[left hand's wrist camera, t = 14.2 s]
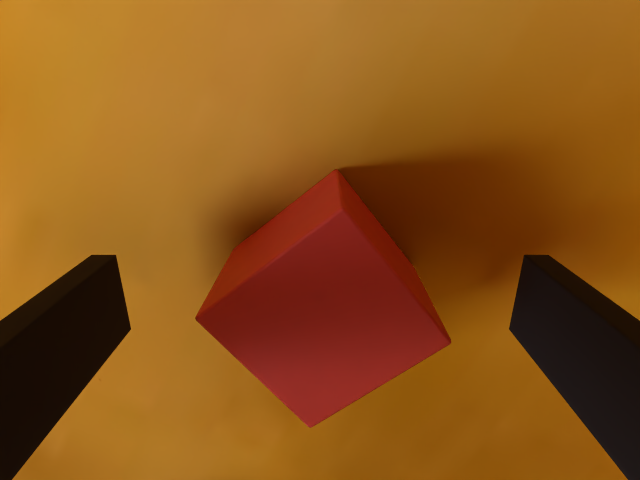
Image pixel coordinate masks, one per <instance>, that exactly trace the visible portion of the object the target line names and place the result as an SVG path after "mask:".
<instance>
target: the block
mask: <svg viewBox="0 0 640 480" xmlns="http://www.w3.org/2000/svg"><path fill="white" fill-rule="evenodd" d="M195 319H196V321H197V322H199V323H200V324H201V325H202V326H203V327H204V328H205V329H206V330H207V331H208V332H209V333H210V334H211V335H212V336H213V337H214V338H215V339H216V340H217V341H219V342H220V343H221V344H222V345H223V346H224V347H225V348H226V349H227V350H228V351H229V352H230V353H231V354H232V355H233V356H234V357H235V358H236V359H238V360H239V361H240V362H241V363H242V364H243V365H244V366H245V367H246V368H247V369H248V370H249V371H250V372H251V373H252V374H253V375H254V376H255V377H257V378H258V379H259V380H260V381H261V382H262V383H263V384H264V385H265V386H266V387H267V388H268V389H269V390H270V391H271V392H272V393H273V394H274V395H275V396H277V397H278V398H279V399H280V400H281V401H282V402H283V403H284V404H285V405H286V406H287V407H288V408H289V409H290V410H291V411H292V412H293V413H294V414H296V415H297V416H298V417H299V418H300V419H301V420H302V421H303V422H304V423H305V424H306V425H307V426H308V427H313V426H315V425H316V424H318V423H320V422H321V421H323V420H325V419H326V418H328V417H330V416H331V415H333V414H335V413H336V412H338V411H340V410H341V409H343V408H345V407H346V406H348V405H350V404H351V403H353V402H355V401H356V400H358V399H360V398H361V397H363V396H365V395H366V394H368V393H370V392H371V391H373V390H374V389H376V388H378V387H379V386H381V385H383V384H384V383H386V382H388V381H389V380H391V379H393V378H394V377H396V376H398V375H399V374H401V373H403V372H404V371H406V370H408V369H409V368H411V367H413V366H414V365H416V364H418V363H419V362H421V361H423V360H424V359H426V358H428V357H429V356H431V355H433V354H434V353H436V352H438V351H439V350H441V349H443V348H444V347H446V346H448V345H449V344H450V343H451V339H450V337H449V335H448V333H447V331H446V329H445V327H444V325H443V323H442V321H441V320H440V318H439V316H438V314H437V312H436V310H435V308H434V306H433V304H432V302H431V300H430V298H429V296H428V294H427V292H426V290H425V288H424V286H423V284H422V282H421V280H420V278H419V276H418V275H417V273H416V271H415V269H414V267H413V265H412V264H411V263H410V262H409V260H408V259H407V258H406V257H405V255H404V254H403V253H402V251H401V250H400V249H399V248H398V246H397V245H396V244H395V242H394V241H393V240H392V239H391V237H390V236H389V235H388V233H387V232H386V231H385V230H384V228H383V227H382V226H381V224H380V223H379V222H378V221H377V219H376V218H375V217H374V215H373V214H372V213H371V212H370V210H369V209H368V208H367V206H366V205H365V204H364V203H363V201H362V200H361V199H360V197H359V196H358V195H357V194H356V192H355V191H354V190H353V188H352V187H351V186H350V185H349V183H348V182H347V181H346V179H345V178H344V177H343V176H342V174H341V173H340V172H339V171H338V170H337V169H336V170H334V171H333V172H331V173H330V174H329V175H327V176H326V177H325V178H324V179H322V180H321V181H320V182H318V183H317V184H316V185H315V186H313V187H312V188H311V189H310V190H308V191H307V192H306V193H304V194H303V195H302V196H301V197H299V198H298V199H297V200H295V201H294V202H293V203H292V204H290V205H289V206H288V207H287V208H285V209H284V210H283V211H281V212H280V213H279V214H278V215H276V216H275V217H274V218H272V219H271V220H270V221H269V222H267V223H266V224H265V225H264V226H262V227H261V228H260V229H258V230H257V231H256V232H255V233H253V234H252V235H251V236H249V237H248V238H247V239H246V240H244V241H243V242H242V243H241V244H239V245H238V246H237V247H235V248H234V249H233V251H232V253H231V254H230V256H229V258H228V260H227V262H226V263H225V265H224V267H223V269H222V271H221V272H220V274H219V276H218V278H217V280H216V281H215V283H214V285H213V287H212V289H211V290H210V292H209V294H208V296H207V297H206V299H205V301H204V303H203V305H202V306H201V308H200V310H199V312H198V314H197V315H196V317H195Z"/></svg>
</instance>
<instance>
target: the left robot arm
mask: <svg viewBox="0 0 640 480" xmlns="http://www.w3.org/2000/svg"><path fill="white" fill-rule="evenodd" d="M130 330H131V327H130V322H129V317H128V312H127V307H126V302H125V297H124V293H123V288H122V283H121V278H120V273H119V268H118V263H117V258H116V255H91V256H90V257H88V258H87V259H85V260H84V261H83V262H81V263H80V264H78V265H77V266H76V267H74V268H73V269H72V270H70V271H69V272H67V273H66V274H65V275H63V276H62V277H60V278H59V279H58V280H56V281H55V282H54V283H52V284H51V285H49V286H48V287H47V288H45V289H44V290H42V291H41V292H40V293H38V294H37V295H36V296H34V297H33V298H31V299H30V300H29V301H27V302H26V303H24V304H23V305H22V306H20V307H19V308H17V309H16V310H15V311H13V312H12V313H11V314H9V315H8V316H6V317H5V318H4V319H2V320H1V321H0V480H12V479H13V478H14V476H15V475H16V474H17V473H18V471H19V470H20V469H21V467H22V466H23V465H24V464H25V462H26V461H27V460H28V459H29V457H30V456H31V455H32V454H33V452H34V451H35V450H36V449H37V447H38V446H39V445H40V443H41V442H42V441H43V440H44V438H45V437H46V436H47V435H48V433H49V432H50V431H51V430H52V428H53V427H54V426H55V425H56V423H57V422H58V421H59V419H60V418H61V417H62V416H63V414H64V413H65V412H66V411H67V409H68V408H69V407H70V406H71V404H72V403H73V402H74V401H75V399H76V398H77V397H78V395H79V394H80V393H81V392H82V390H83V389H84V388H85V387H86V385H87V384H88V383H89V382H90V380H91V379H92V378H93V376H94V375H95V374H96V373H97V371H98V370H99V369H100V368H101V366H102V365H103V364H104V363H105V361H106V360H107V359H108V358H109V356H110V355H111V354H112V352H113V351H114V350H115V349H116V347H117V346H118V345H119V344H120V342H121V341H122V340H123V339H124V337H125V336H126V335H127V334H128V332H129V331H130ZM509 330H510V331H511V332H512V333H513V335H514V336H515V337H516V339H517V340H518V341H519V342H520V344H521V345H522V346H523V347H524V349H525V350H526V351H527V352H528V354H529V355H530V356H531V358H532V359H533V360H534V361H535V363H536V364H537V365H538V366H539V368H540V369H541V370H542V371H543V373H544V374H545V375H546V376H547V378H548V379H549V380H550V382H551V383H552V384H553V385H554V387H555V388H556V389H557V390H558V392H559V393H560V394H561V395H562V397H563V398H564V399H565V400H566V402H567V403H568V404H569V406H570V407H571V408H572V409H573V411H574V412H575V413H576V414H577V416H578V417H579V418H580V419H581V421H582V422H583V423H584V424H585V426H586V427H587V428H588V430H589V431H590V432H591V433H592V435H593V436H594V437H595V438H596V440H597V441H598V442H599V443H600V445H601V446H602V447H603V449H604V450H605V451H606V452H607V454H608V455H609V456H610V457H611V459H612V460H613V461H614V462H615V464H616V465H617V466H618V467H619V469H620V470H621V471H622V473H623V474H624V475H625V476H626V478H627V479H628V480H640V321H639V320H638V319H636V318H635V317H634V316H632V315H631V314H629V313H628V312H627V311H625V310H624V309H623V308H621V307H620V306H618V305H617V304H616V303H614V302H613V301H611V300H610V299H609V298H607V297H606V296H605V295H603V294H602V293H600V292H599V291H598V290H596V289H595V288H593V287H592V286H591V285H589V284H588V283H586V282H585V281H584V280H582V279H581V278H580V277H578V276H577V275H575V274H574V273H573V272H571V271H570V270H568V269H567V268H566V267H564V266H563V265H562V264H560V263H559V262H557V261H556V260H555V259H553V258H552V257H550V256H549V255H524V258H523V263H522V268H521V273H520V278H519V283H518V288H517V293H516V297H515V302H514V307H513V312H512V317H511V322H510V327H509Z"/></svg>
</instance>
